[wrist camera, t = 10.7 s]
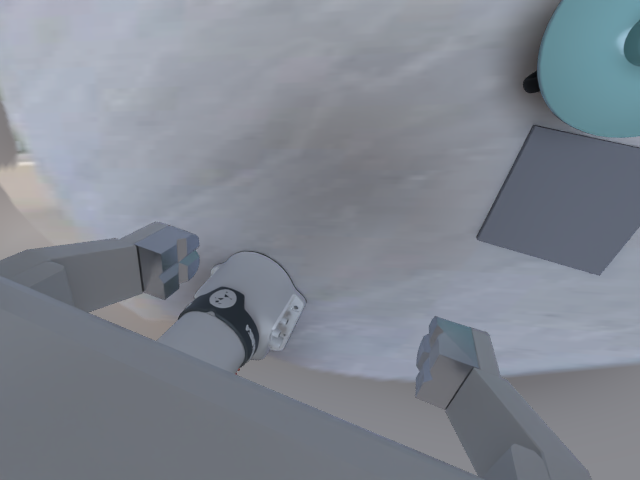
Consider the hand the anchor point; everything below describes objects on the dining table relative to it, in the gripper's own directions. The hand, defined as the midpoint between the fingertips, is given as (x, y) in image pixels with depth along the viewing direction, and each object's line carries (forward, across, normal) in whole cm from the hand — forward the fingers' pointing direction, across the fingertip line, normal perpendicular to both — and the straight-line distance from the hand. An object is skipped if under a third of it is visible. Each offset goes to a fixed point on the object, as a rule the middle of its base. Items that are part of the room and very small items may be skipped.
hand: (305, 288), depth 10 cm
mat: (+32, +21, -2) cm, 38 cm away
